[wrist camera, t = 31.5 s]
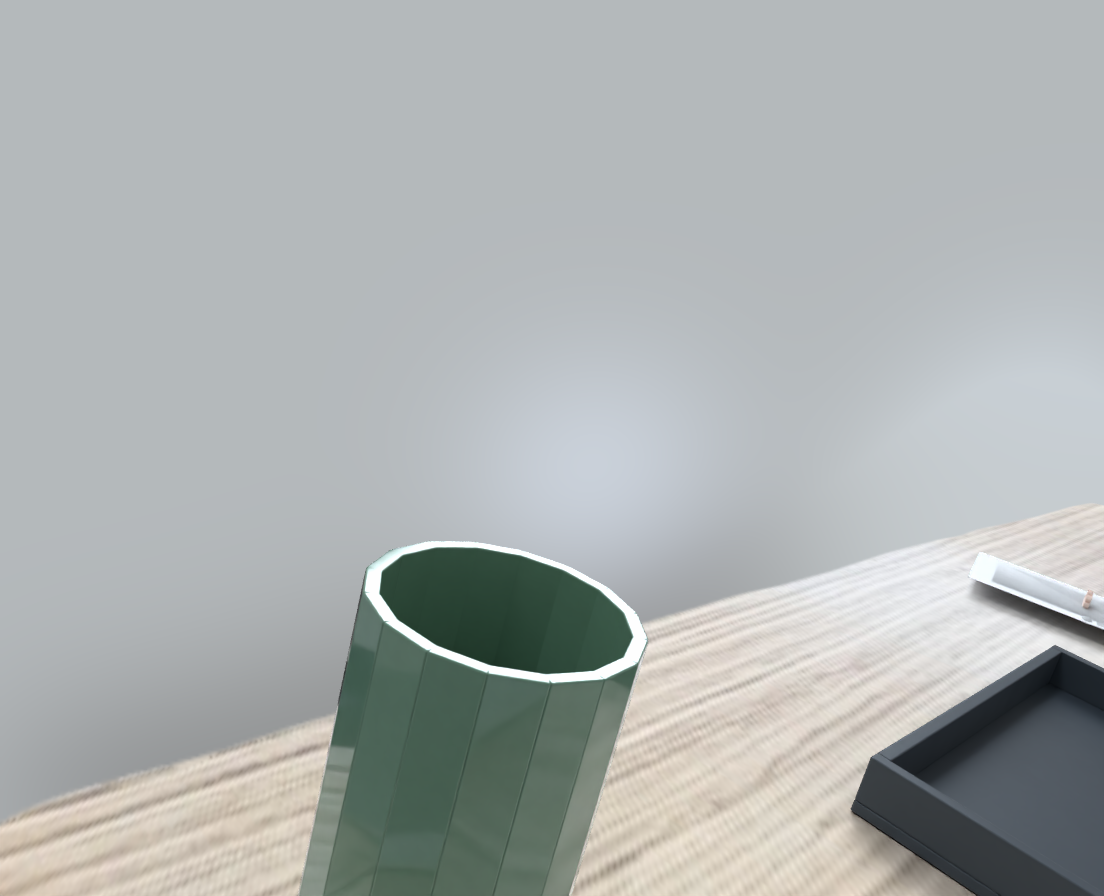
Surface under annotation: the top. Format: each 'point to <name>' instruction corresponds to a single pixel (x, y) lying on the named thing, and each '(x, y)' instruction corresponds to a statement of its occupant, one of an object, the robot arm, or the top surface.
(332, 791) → the tumbler
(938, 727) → the tray
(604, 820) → the top surface
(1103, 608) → the touchpad
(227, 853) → the top surface
